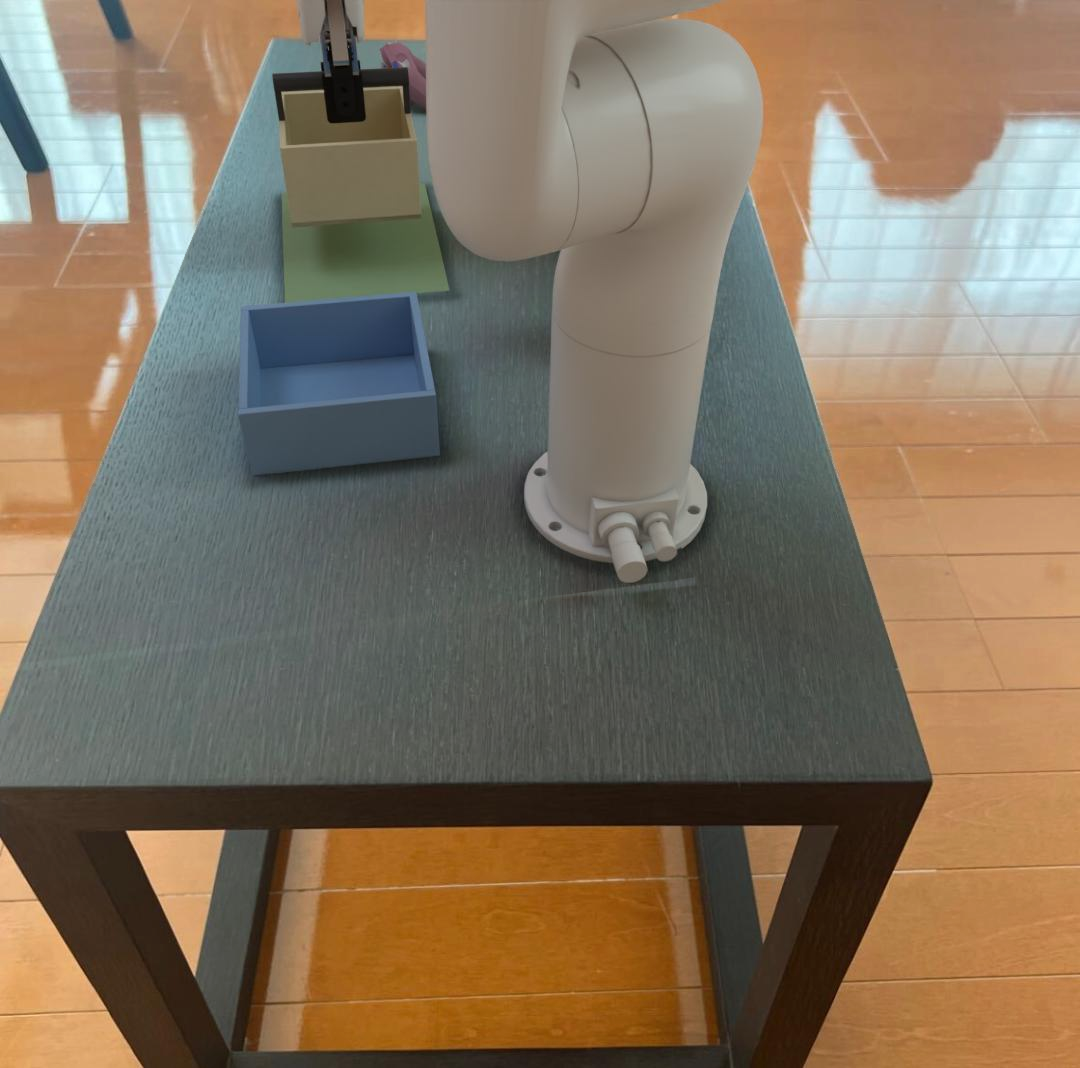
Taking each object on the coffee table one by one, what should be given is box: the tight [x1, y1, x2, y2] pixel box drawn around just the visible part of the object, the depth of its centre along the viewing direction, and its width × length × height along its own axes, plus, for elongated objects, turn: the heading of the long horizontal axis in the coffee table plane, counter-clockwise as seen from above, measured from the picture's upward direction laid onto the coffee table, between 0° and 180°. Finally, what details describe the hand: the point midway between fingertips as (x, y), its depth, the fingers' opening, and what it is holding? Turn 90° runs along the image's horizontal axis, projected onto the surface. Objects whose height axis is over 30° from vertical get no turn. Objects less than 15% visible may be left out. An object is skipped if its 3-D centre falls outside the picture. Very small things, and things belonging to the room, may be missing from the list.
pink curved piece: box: [379, 38, 426, 109], centre depth 120 cm, size 10×5×7 cm, turn 17°
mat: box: [281, 182, 451, 303], centre depth 99 cm, size 20×14×1 cm
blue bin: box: [237, 292, 441, 476], centre depth 79 cm, size 13×13×6 cm
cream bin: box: [271, 67, 422, 227], centre depth 92 cm, size 11×11×11 cm
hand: (346, 114), depth 90 cm, fingers closed on cream bin, 1 cm apart
